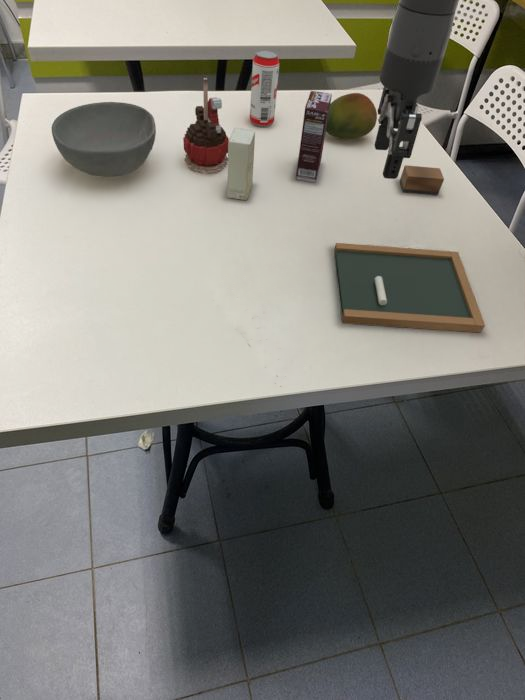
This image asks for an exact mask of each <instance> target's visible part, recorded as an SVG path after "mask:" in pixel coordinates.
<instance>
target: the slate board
mask: <svg viewBox="0 0 525 700" xmlns="http://www.w3.org/2000/svg"><path fill="white" fill-rule="evenodd" d="M333 251H334V261H335V269H336V271H335V272H336V278H337V287H338V296H339V304H340V313H341V321H342V322H341V323H342V324H349V325H350V324H351V325H365V326H377V327H395V328H407V329H408V328H409V329H423V330H426V329H427V330H436V331H437V330H438V331H439V330H440V331H453V332H464V333H465V332H466V333H467V332H469V333H482V332H483V330H484V328H485V327H486V324H485V321H484V319H483V316H482V313H481V310H480V307H479V305H478V302H477V300H476V297H475V294H474V291H473V289H472V285H471V284H470V283H471V282H470V281H469V278H468V275H467V272H466V269H465V266H464V264H463V261H462V259H461V256H460V253H459V251H450V250H437V249H425V248H424V249H422V248H413V247H412V248H411V247H397V246H386V245H385V246H384V245H383V246H382V245H373V244H360V243H359V244H358V243H347V242H346V243H345V242H336V243H335V245H334V248H333ZM377 276H381V277H382V279H383V284H384V289H385V294H386V299H387V304H386V305H383V306H382V305H379V302H378V297H377V291H376V286H375V280H374V279H375V277H377Z"/></svg>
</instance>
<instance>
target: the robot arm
mask: <svg viewBox="0 0 525 700" xmlns="http://www.w3.org/2000/svg"><path fill="white" fill-rule="evenodd" d="M459 2H460V0H398V5H397V7H396V11H395V14H394V17H393V19H392V22H391V27H390V30H389V35H388V39H387V44H386V47H385V52H384V57H383V60H382V66H381V70H380V74H379V81H380V84H381V85H382V86H383V87H382V91H381V92H382V93H381V97H380V101H379V105H378V108H377V116H378V115H379V117H378V118H377V120H378V124H379V125H378V127H377V133H376V135H375V136H376V137H375V141H374V150H377V151H387V156H386V159H385V163H384V166H383V170H382V176H383V178H384V179H388V180H395V179H397V178H398V177H399V175H400V171H401V167H402V164H403V161H404V159H410V158H411V156H412V155H413V149H414V147H415V142H416V140H417V136H418V133H419V129H420V125H421V122H422V120H423V115H422V113H418V108H419V105H418V103H417V102H418V98H419V97H422V96H423V95H426V94H428V93H430V92H432V91H433V90H434V88H435V85H436V84H437V83H436V82H437V80H438V77H439V74H440V70H441V67H442V63H443V60H444V58H445V54H446V50H447V47H448V44H449V41H450V37H451V35H452V31H453V25H454V19H455V15H456V12H457V8H458V5H459ZM401 143H402V146H400V145H401Z"/></svg>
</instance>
